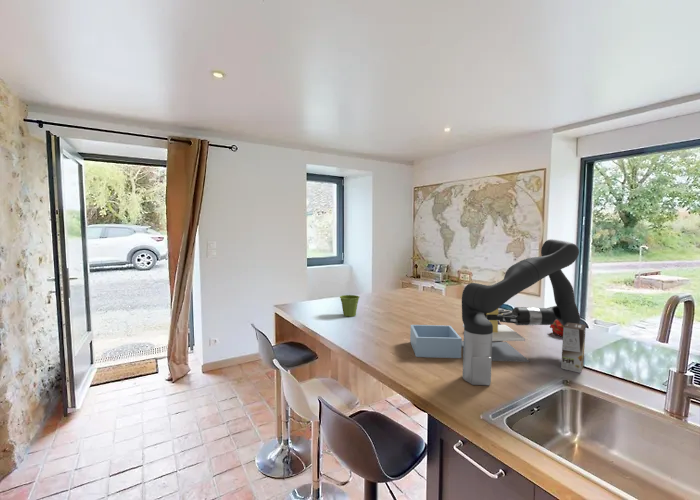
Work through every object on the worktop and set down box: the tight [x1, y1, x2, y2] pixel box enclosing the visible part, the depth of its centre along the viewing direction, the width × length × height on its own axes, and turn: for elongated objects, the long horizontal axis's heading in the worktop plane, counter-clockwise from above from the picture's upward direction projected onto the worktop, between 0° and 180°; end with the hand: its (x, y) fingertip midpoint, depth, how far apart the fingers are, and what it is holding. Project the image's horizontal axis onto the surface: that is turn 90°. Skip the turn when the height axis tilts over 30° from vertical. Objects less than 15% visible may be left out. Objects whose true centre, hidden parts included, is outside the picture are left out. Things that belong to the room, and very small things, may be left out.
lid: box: [462, 308, 526, 342], centre depth 143 cm, size 19×19×13 cm
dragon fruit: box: [549, 319, 564, 338], centre depth 166 cm, size 8×8×12 cm
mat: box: [461, 340, 530, 363], centre depth 144 cm, size 22×22×1 cm
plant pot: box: [339, 294, 361, 318], centre depth 199 cm, size 12×12×11 cm
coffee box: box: [560, 322, 587, 373], centre depth 127 cm, size 9×6×16 cm
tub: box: [409, 324, 463, 359], centre depth 145 cm, size 18×18×8 cm
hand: (485, 315), depth 143 cm, fingers closed on lid, 3 cm apart
